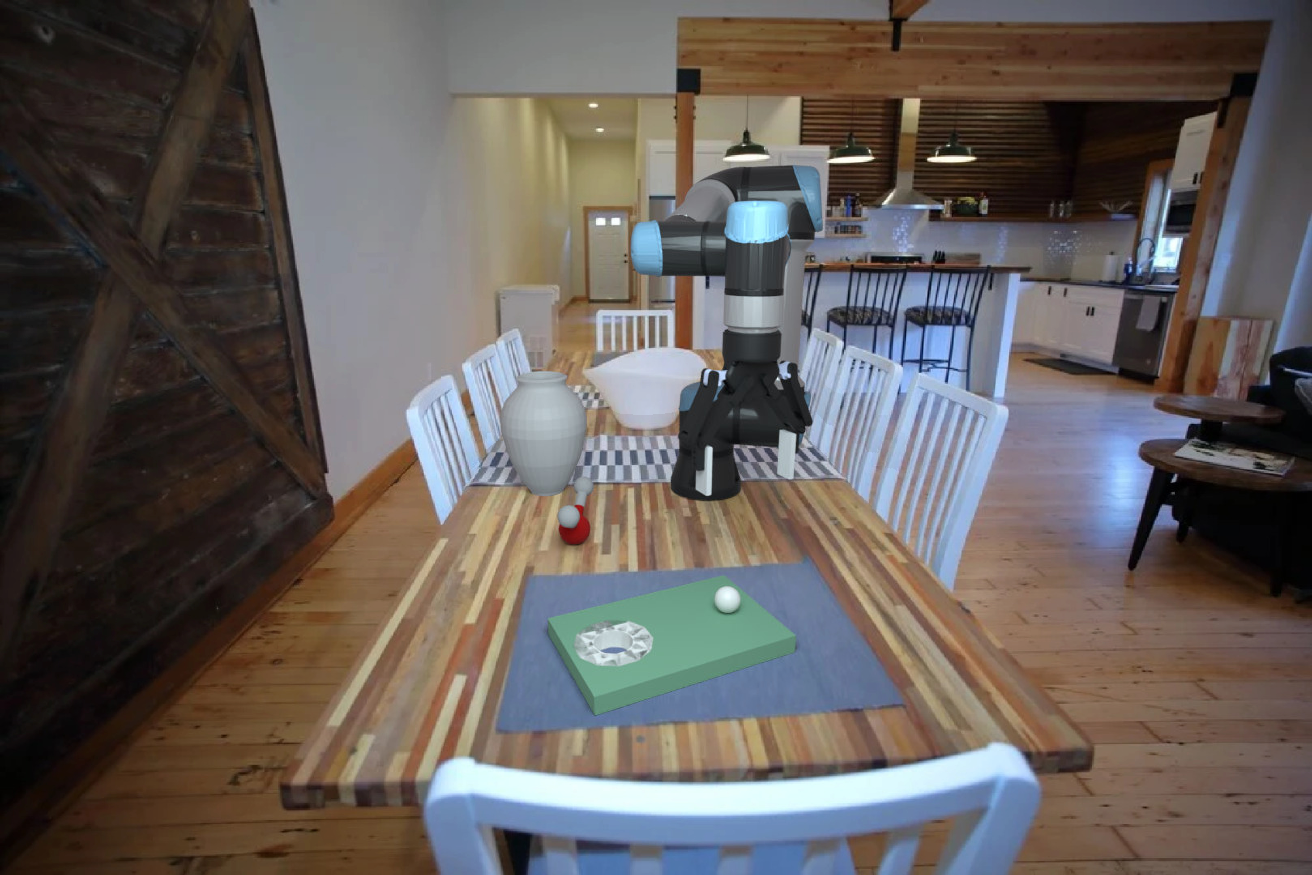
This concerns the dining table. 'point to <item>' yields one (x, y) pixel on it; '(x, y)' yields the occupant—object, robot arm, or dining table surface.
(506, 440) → the vase
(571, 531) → the molecular model
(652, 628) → the putting mat
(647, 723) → the dining table surface
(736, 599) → the ball
